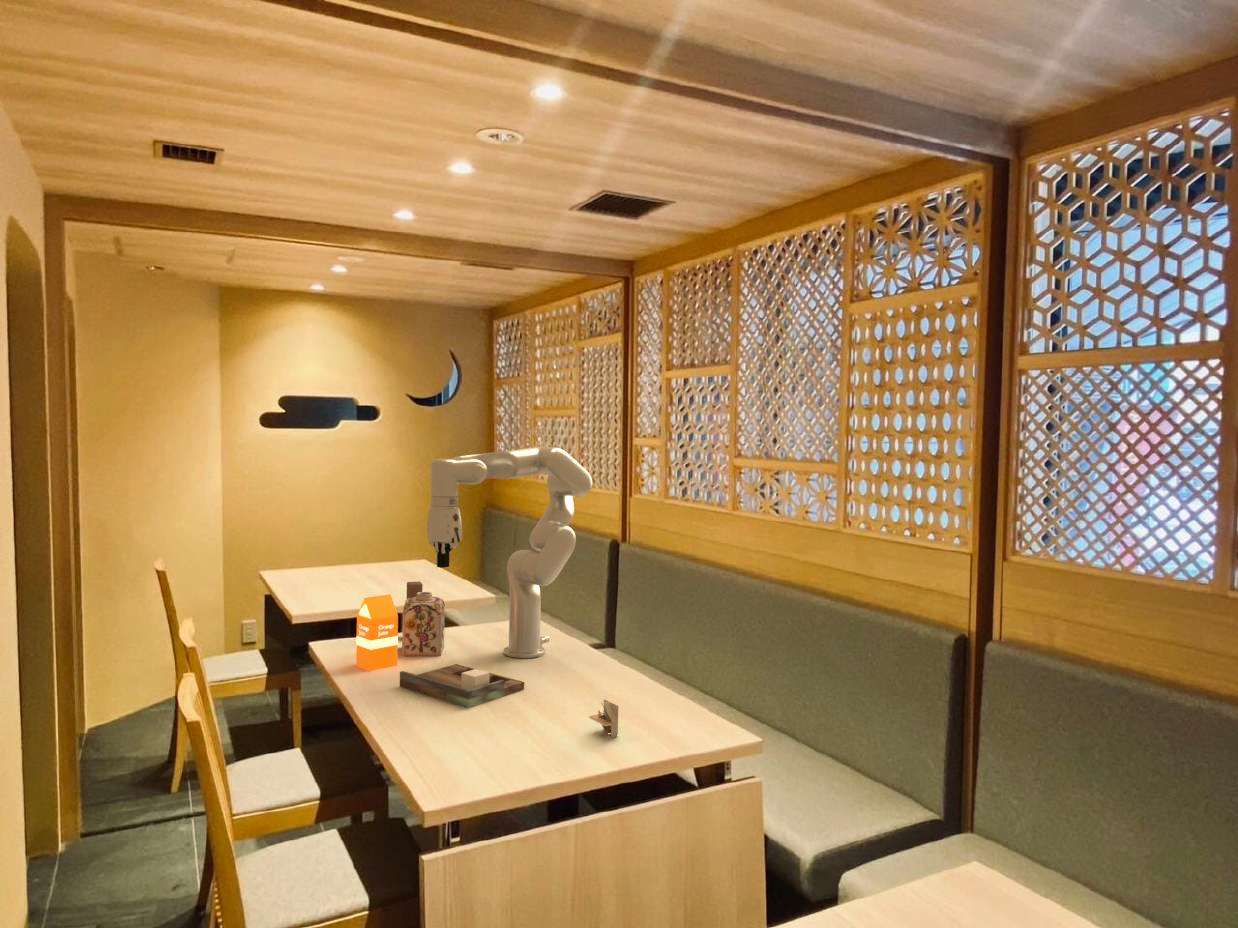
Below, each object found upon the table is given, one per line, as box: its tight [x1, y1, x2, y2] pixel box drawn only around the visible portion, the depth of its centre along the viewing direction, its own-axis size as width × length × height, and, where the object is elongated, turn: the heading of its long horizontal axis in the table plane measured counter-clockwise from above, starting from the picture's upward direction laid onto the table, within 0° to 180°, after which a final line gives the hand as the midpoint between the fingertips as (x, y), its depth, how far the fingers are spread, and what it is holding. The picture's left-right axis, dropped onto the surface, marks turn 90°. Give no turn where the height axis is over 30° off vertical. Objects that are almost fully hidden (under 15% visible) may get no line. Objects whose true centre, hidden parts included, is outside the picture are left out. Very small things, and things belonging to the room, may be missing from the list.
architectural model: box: [588, 698, 619, 738], centre depth 202 cm, size 3×7×7 cm, turn 36°
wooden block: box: [406, 581, 424, 600], centre depth 285 cm, size 9×4×18 cm, turn 111°
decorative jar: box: [401, 591, 445, 657], centre depth 268 cm, size 12×12×18 cm
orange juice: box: [355, 594, 399, 672], centre depth 252 cm, size 8×9×20 cm
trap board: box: [399, 663, 525, 709], centre depth 233 cm, size 20×26×4 cm
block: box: [461, 668, 491, 690], centre depth 224 cm, size 5×5×4 cm
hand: (443, 566), depth 249 cm, fingers closed
